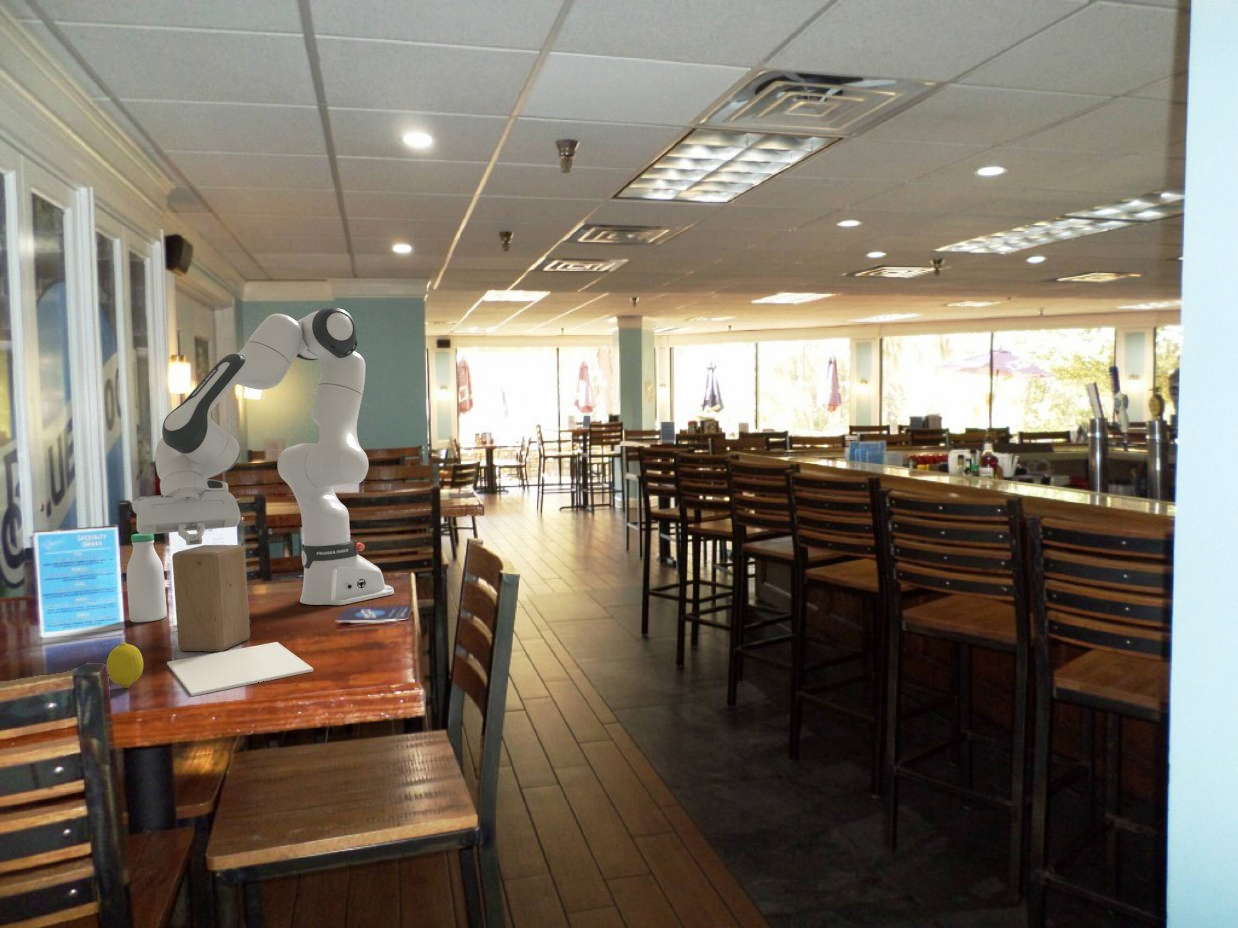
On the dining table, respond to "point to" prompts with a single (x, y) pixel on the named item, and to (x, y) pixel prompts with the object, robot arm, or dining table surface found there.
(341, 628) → the dining table surface
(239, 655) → the board
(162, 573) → the milk bottle
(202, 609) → the wooden block
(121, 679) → the lemon
